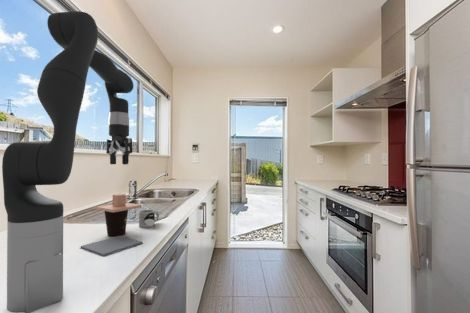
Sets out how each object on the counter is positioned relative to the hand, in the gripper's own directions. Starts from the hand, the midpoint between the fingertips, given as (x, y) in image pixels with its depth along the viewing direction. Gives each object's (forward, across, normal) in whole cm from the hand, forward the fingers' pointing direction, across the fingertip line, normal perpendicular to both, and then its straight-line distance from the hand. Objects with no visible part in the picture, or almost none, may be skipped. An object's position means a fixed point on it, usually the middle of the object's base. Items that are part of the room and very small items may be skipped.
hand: (119, 164), depth 102 cm
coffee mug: (+28, 0, 0) cm, 28 cm away
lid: (+18, 0, 0) cm, 18 cm away
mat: (+28, +12, -10) cm, 32 cm away
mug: (+28, 0, +15) cm, 32 cm away
